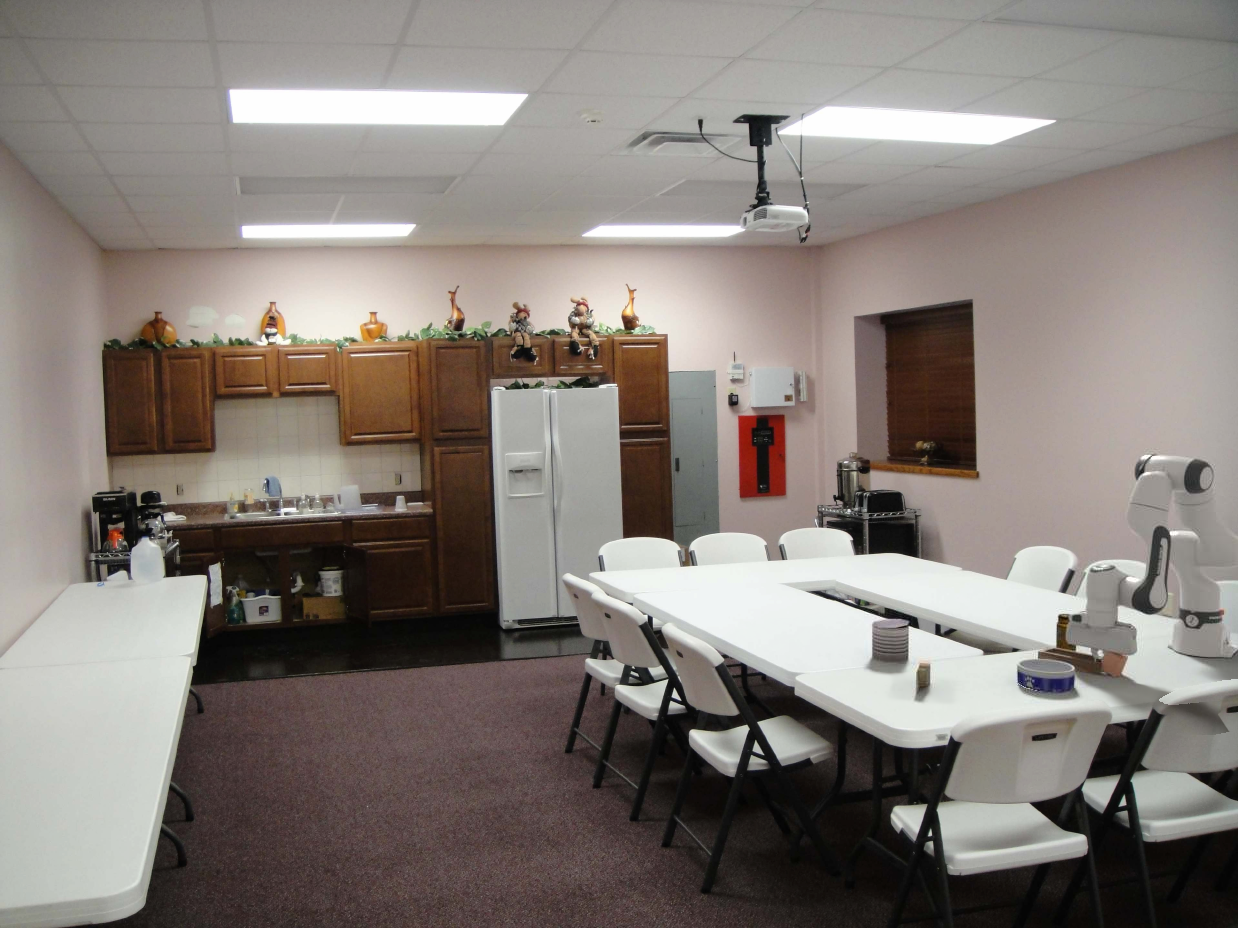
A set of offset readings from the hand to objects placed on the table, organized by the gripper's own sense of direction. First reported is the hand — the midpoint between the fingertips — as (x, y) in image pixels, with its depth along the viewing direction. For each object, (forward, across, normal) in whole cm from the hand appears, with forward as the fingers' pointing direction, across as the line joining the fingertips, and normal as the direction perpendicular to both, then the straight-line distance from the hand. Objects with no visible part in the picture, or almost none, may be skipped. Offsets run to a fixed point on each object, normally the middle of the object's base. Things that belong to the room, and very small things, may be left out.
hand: (1100, 663), depth 299 cm
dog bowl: (+3, +3, +26) cm, 26 cm away
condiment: (+2, +20, -15) cm, 25 cm away
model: (+3, +24, +55) cm, 60 cm away
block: (+2, -3, 0) cm, 4 cm away
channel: (+2, +8, 0) cm, 8 cm away
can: (+3, +50, +35) cm, 61 cm away
